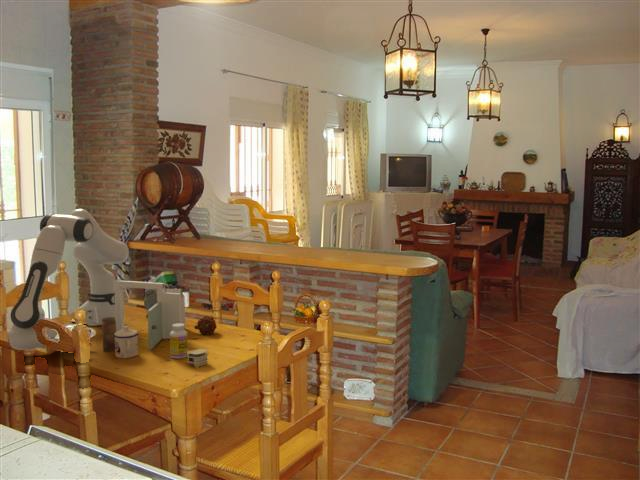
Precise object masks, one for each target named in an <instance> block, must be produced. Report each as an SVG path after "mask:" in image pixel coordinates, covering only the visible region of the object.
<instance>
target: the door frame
mask: <svg viewBox="0 0 640 480" xmlns="http://www.w3.org/2000/svg"><path fill="white" fill-rule="evenodd" d="M114 287H115V310H116V322H115V329H116V332H117V331H120V330H121V329H123V327H124V326H125V310H124V308H125V307H124V288H127V289H128V288H130V289H145V290H146V289H154V290H157V302H161V303H162V334H163V338H162V339H167V340H168V339H169V340H170V333H171V331H173V328H172V325H173V324H177V323H182V319H181V293H166V292H165V288H166V283H165V282H151V281H150V282H149V281H137V280H136V281H135V280H123V279H117V280H116V279H115V281H114ZM162 339H161V340H162Z"/></svg>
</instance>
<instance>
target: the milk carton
mask: <svg viewBox="0 0 640 480" xmlns="http://www.w3.org/2000/svg"><path fill="white" fill-rule="evenodd" d="M166 293H181V319H182V324H184V325H185V326H186V305H185V304H186V303H185V302H186V301H185V298H186V297H185V295H184V293H183V292H182V289H181V288H166Z"/></svg>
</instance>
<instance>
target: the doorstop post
mask: <svg viewBox="0 0 640 480" xmlns="http://www.w3.org/2000/svg"><path fill="white" fill-rule="evenodd" d="M101 326H102V348H103V352H109V353H110V352H113V351H114V352H115V336H114V334H115V332H116V322H115V318H114V317H106V318H103V319H102V325H101Z"/></svg>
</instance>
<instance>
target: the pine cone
mask: <svg viewBox="0 0 640 480" xmlns="http://www.w3.org/2000/svg"><path fill="white" fill-rule="evenodd" d="M216 329H217V324H216V320H215V319H214V318H213V317H211V316H208V315H204V317H202V318H199V319H198V320H197V322H196V323H195V325H194V330H198V333H200V334H201V335H203V334H204V335H207V336H208V335H209V336H210V335H211V334H212V333H214V332H215V330H216Z"/></svg>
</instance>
